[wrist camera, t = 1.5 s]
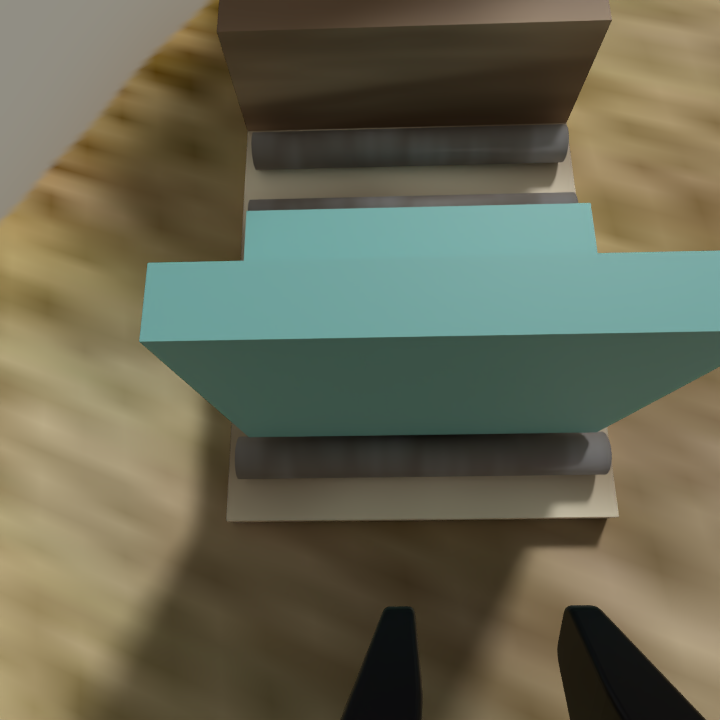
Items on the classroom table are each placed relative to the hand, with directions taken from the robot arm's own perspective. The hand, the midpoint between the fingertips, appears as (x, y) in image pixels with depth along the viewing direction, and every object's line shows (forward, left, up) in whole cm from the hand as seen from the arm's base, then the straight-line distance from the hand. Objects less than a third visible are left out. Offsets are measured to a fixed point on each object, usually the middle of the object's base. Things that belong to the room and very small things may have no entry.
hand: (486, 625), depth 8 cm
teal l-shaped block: (+6, +5, -10) cm, 13 cm away
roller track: (+9, +6, -13) cm, 17 cm away
